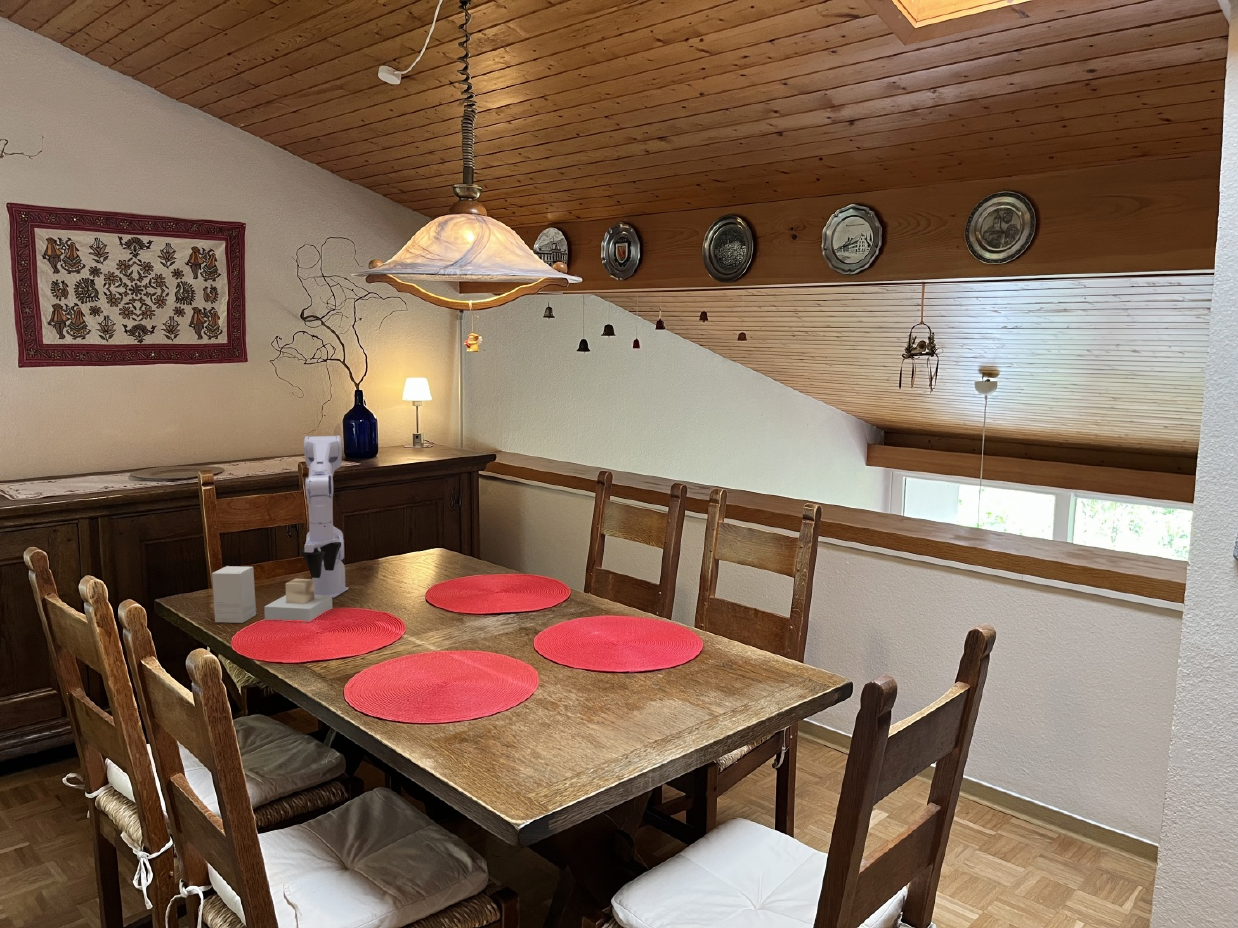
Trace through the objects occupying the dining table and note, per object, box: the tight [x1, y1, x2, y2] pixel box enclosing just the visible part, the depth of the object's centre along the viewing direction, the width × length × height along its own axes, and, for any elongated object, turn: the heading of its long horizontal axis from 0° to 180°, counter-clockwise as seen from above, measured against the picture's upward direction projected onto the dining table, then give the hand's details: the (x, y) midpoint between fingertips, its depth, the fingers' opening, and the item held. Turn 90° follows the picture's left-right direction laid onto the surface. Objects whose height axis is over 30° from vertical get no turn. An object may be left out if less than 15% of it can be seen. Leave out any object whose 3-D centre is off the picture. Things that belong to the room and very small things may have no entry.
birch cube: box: [284, 578, 315, 604], centre depth 231 cm, size 5×5×5 cm
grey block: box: [263, 594, 333, 621], centre depth 232 cm, size 12×12×4 cm
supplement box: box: [211, 565, 257, 624], centre depth 227 cm, size 7×7×13 cm
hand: (322, 573), depth 235 cm, fingers open, 7 cm apart
